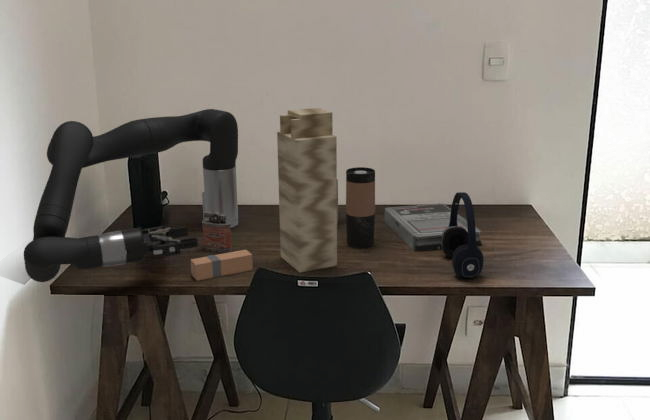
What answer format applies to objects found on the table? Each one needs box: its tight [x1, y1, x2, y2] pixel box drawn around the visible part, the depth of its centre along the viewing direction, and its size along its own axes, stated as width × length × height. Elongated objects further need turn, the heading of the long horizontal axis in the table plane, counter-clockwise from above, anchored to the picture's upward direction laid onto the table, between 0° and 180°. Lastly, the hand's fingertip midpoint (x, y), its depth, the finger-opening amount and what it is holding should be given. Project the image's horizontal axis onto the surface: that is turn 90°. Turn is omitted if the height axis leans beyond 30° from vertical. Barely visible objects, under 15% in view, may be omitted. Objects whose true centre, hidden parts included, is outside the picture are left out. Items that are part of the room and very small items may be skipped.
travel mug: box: [345, 166, 376, 249], centre depth 184 cm, size 8×8×20 cm
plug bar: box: [190, 249, 254, 282], centre depth 168 cm, size 14×4×4 cm, turn 117°
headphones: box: [441, 191, 484, 280], centre depth 168 cm, size 20×7×18 cm, turn 2°
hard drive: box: [384, 202, 482, 252], centre depth 195 cm, size 18×27×4 cm
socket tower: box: [276, 107, 338, 273], centre depth 170 cm, size 10×12×37 cm
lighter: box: [201, 212, 233, 253], centre depth 183 cm, size 8×3×10 cm, turn 71°
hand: (192, 236), depth 163 cm, fingers open, 8 cm apart
